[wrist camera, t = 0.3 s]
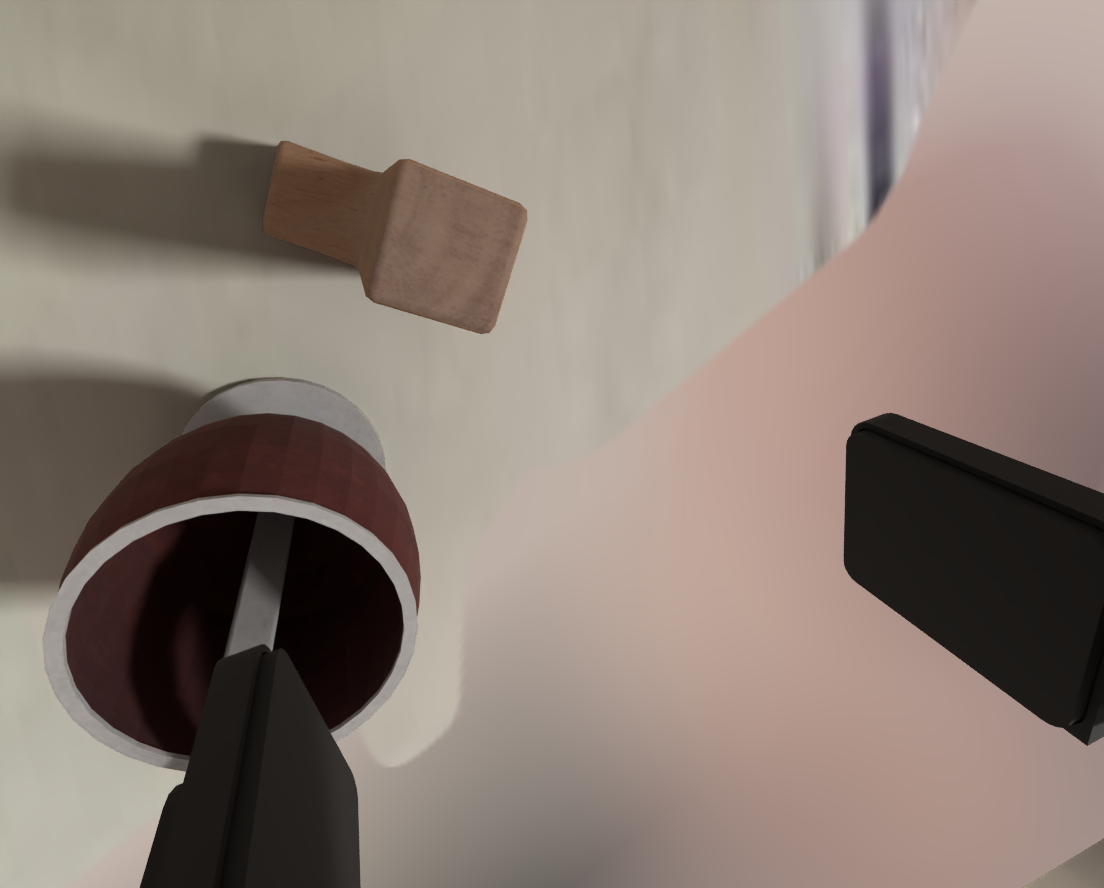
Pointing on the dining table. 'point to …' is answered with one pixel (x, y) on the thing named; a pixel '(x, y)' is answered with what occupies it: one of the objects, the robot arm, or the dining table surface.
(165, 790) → the dining table surface
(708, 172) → the dining table surface
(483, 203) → the wooden block
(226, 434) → the mate gourd
